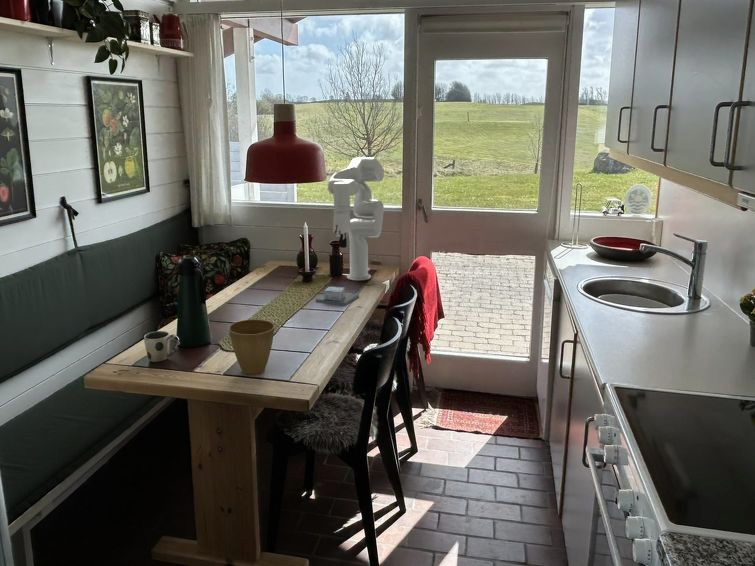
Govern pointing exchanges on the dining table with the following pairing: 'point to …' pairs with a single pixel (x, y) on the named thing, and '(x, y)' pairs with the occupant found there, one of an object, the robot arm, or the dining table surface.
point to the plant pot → (252, 344)
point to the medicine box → (334, 293)
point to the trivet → (344, 301)
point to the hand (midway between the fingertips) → (342, 247)
